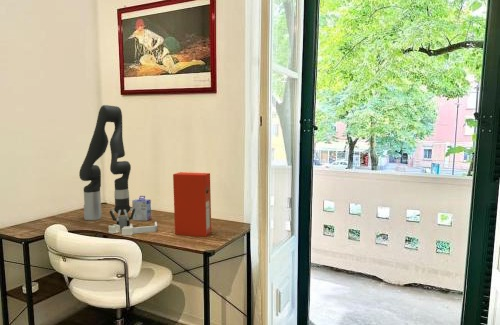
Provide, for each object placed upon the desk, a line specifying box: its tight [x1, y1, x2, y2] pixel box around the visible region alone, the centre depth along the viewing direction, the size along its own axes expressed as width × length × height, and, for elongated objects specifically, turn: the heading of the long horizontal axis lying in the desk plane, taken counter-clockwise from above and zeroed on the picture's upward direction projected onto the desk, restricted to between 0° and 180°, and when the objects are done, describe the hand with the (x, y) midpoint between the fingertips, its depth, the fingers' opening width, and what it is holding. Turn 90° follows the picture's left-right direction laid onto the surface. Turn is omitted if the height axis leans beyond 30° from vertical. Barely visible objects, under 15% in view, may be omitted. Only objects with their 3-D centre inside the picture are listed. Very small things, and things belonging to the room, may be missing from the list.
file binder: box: [172, 171, 212, 238], centre depth 173 cm, size 8×17×32 cm, turn 75°
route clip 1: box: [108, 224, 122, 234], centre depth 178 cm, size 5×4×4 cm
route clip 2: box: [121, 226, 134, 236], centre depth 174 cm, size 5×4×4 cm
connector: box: [119, 215, 127, 231], centre depth 188 cm, size 4×11×6 cm, turn 17°
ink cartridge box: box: [131, 195, 152, 222], centre depth 203 cm, size 10×6×14 cm, turn 78°
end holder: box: [129, 221, 158, 235], centre depth 181 cm, size 14×9×3 cm, turn 107°
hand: (123, 226), depth 186 cm, fingers closed on connector, 4 cm apart
